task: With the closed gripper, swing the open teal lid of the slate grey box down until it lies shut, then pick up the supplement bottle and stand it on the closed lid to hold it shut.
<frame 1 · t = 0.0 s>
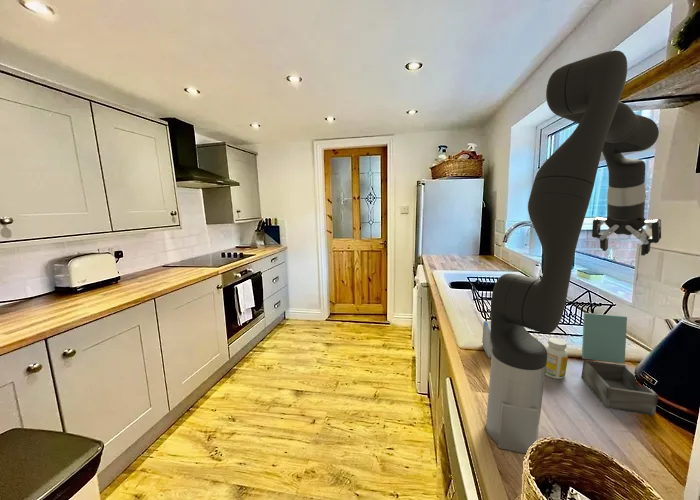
hand: (623, 252, 86), 31 cm above the worktop, tool tilted 20°, fingers open, 8 cm apart
medicine box: (492, 352, 92), on the worktop
lid: (603, 337, 77), point 11 cm above the worktop, hinge at 100.0°
supplement bottle: (553, 374, 81), on the worktop
storage box: (614, 394, 72), on the worktop
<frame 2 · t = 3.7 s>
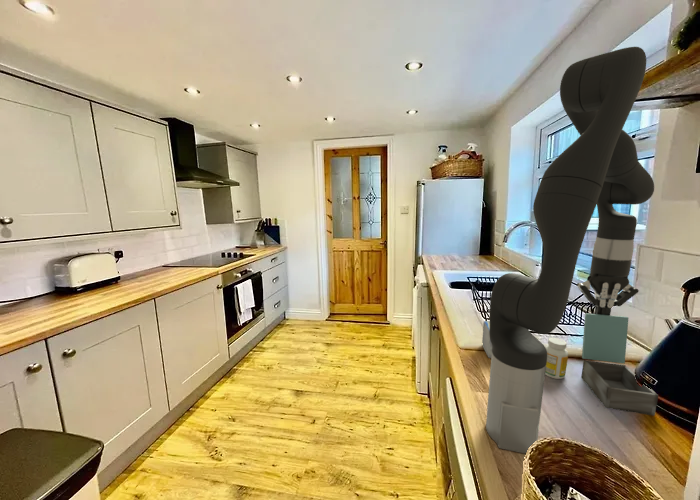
hand: (601, 319, 78), 15 cm above the worktop, tool pointing down, fingers closed
lid: (604, 338, 77), point 11 cm above the worktop, hinge at 97.0°, touching gripper
everything else where it was.
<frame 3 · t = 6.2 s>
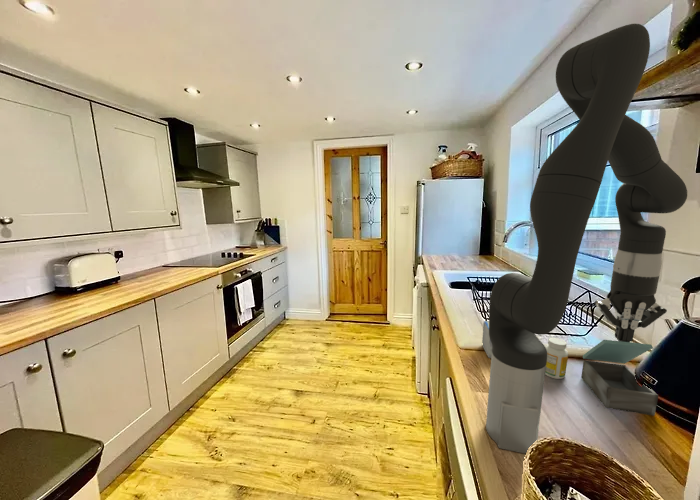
hand: (623, 341, 69), 14 cm above the worktop, tool pointing down, fingers closed
lid: (614, 352, 72), point 10 cm above the worktop, hinge at 46.5°, touching gripper
everything else where it was.
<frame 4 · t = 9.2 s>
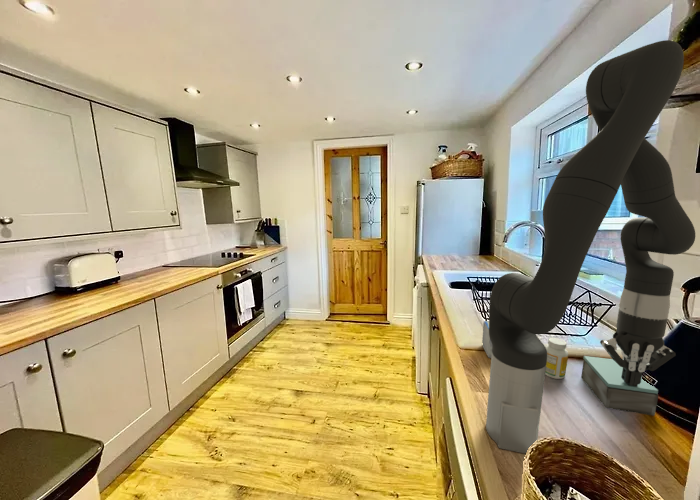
hand: (630, 384, 66), 6 cm above the worktop, tool pointing down, fingers closed
lid: (617, 373, 71), point 6 cm above the worktop, hinge at -0.6°, touching gripper
everything else where it was.
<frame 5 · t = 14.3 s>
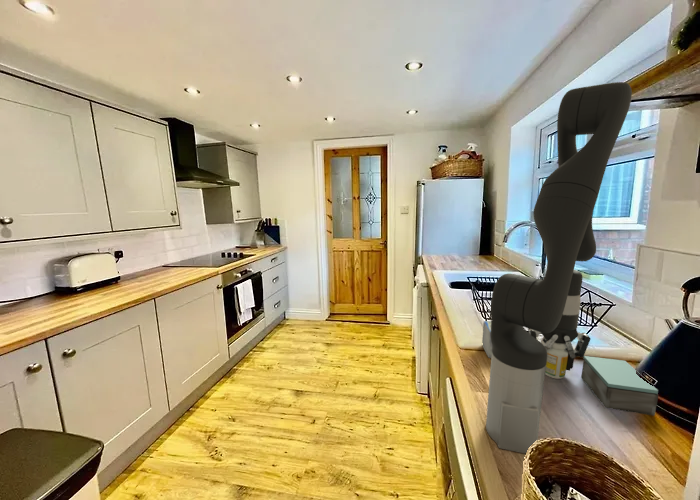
hand: (554, 366, 80), 2 cm above the worktop, tool pointing down, fingers closed on supplement bottle, 5 cm apart
lid: (617, 373, 71), point 6 cm above the worktop, hinge at -0.6°
supplement bottle: (553, 374, 81), on the worktop, touching gripper
everything else where it was.
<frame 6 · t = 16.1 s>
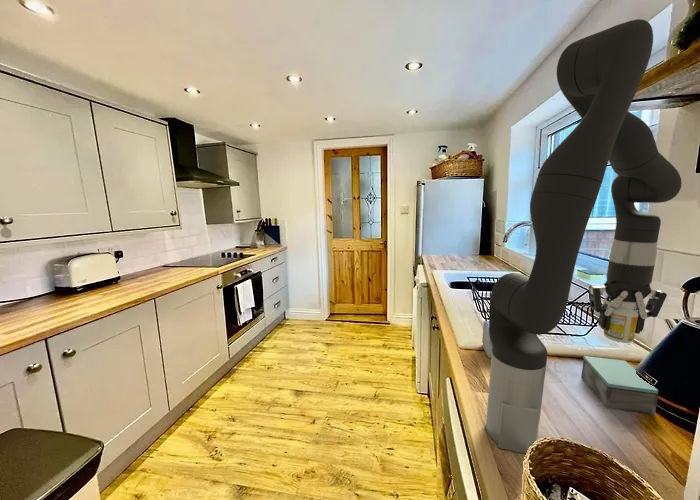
hand: (619, 330, 69), 16 cm above the worktop, tool pointing down, fingers closed on supplement bottle, 5 cm apart
supplement bottle: (617, 339, 70), point 14 cm above the worktop, touching gripper
everything else where it was.
when the fingers open (9 cm above the worktop, at t = 18.3 s): supplement bottle drops 1 cm, resting on lid.
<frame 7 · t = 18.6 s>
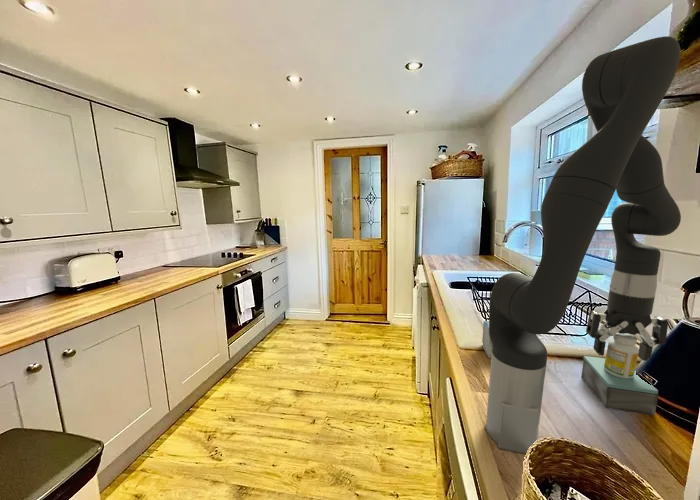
hand: (620, 356, 70), 10 cm above the worktop, tool pointing down, fingers open, 8 cm apart
lid: (617, 373, 71), point 6 cm above the worktop, hinge at -0.9°, touching supplement bottle
supplement bottle: (618, 373, 71), point 6 cm above the worktop, touching lid
everything else where it was.
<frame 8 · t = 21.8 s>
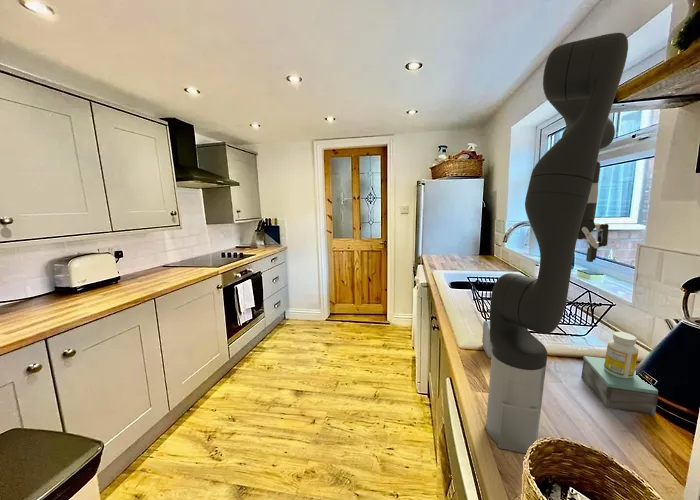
hand: (571, 260, 81), 30 cm above the worktop, tool pointing down, fingers open, 8 cm apart
nothing on the worktop moved.
at the end: lid at -1° (first picture: +100°); supplement bottle inside the target area on the storage box (0.1 cm from its centre), point 5.8 cm above the storage box's base; supplement bottle tilted 1° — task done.
